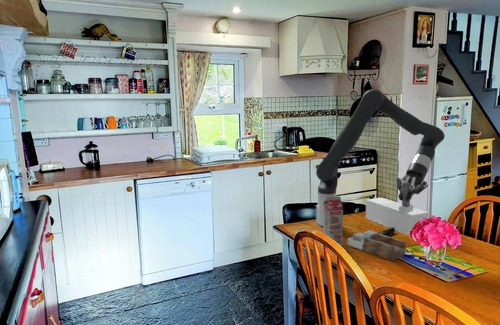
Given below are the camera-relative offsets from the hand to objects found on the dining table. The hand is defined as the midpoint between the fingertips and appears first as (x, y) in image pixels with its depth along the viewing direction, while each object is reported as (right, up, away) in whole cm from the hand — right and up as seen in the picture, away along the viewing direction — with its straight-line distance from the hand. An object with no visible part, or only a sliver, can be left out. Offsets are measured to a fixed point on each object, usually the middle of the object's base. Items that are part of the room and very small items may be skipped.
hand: (403, 199), depth 151 cm
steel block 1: (-13, -19, +10) cm, 25 cm away
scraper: (+2, -5, +2) cm, 6 cm away
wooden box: (-7, -23, +3) cm, 24 cm away
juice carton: (-27, -22, +13) cm, 37 cm away
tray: (-14, -21, +11) cm, 28 cm away
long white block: (+11, -17, +37) cm, 42 cm away
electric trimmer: (0, -20, +22) cm, 30 cm away
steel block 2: (-11, -19, +8) cm, 23 cm away
